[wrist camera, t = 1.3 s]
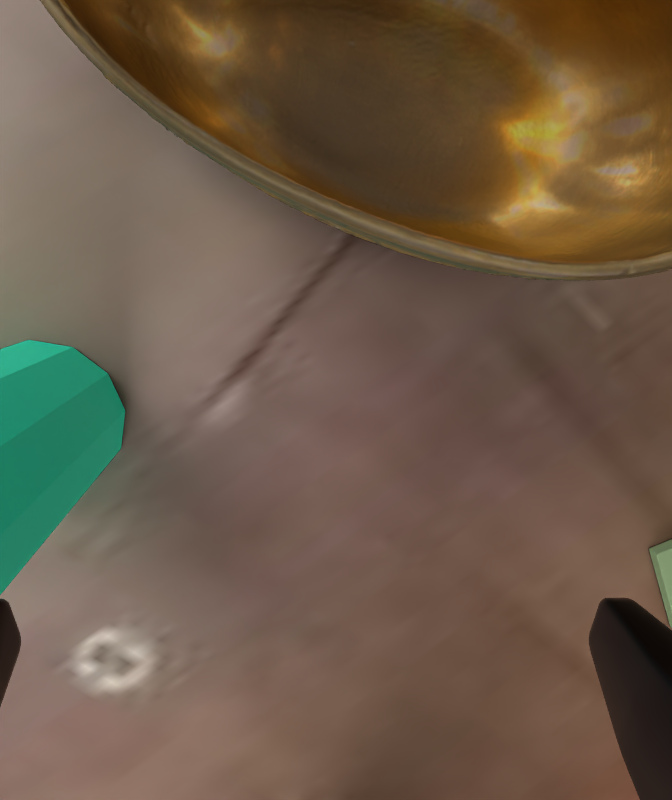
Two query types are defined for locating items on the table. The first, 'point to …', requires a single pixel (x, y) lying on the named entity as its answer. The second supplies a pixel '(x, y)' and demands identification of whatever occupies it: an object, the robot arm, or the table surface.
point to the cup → (422, 118)
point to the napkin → (664, 573)
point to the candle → (49, 442)
